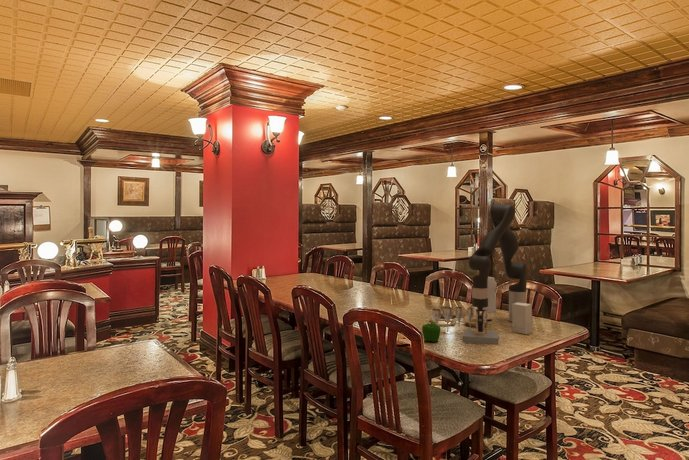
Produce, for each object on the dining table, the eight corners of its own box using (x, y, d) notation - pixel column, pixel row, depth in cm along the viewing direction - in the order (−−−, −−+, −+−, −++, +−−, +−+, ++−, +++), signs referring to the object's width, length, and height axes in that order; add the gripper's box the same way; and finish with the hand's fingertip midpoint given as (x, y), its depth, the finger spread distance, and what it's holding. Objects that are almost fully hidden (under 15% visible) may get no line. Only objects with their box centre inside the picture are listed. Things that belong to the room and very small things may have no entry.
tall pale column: (480, 312, 278) (480, 277, 277) (478, 311, 282) (478, 276, 281) (497, 312, 278) (497, 276, 277) (495, 311, 282) (495, 276, 281)
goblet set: (432, 334, 232) (432, 308, 232) (431, 331, 238) (431, 306, 237) (488, 335, 228) (488, 309, 228) (486, 332, 234) (486, 306, 234)
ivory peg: (476, 337, 224) (475, 317, 224) (484, 337, 223) (484, 317, 223) (476, 339, 221) (475, 319, 220) (484, 340, 219) (484, 319, 219)
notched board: (463, 335, 228) (463, 329, 228) (496, 337, 224) (496, 331, 223) (463, 342, 216) (463, 336, 216) (498, 344, 212) (498, 338, 212)
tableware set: (427, 326, 249) (427, 319, 249) (431, 314, 277) (431, 308, 277) (494, 330, 239) (494, 322, 239) (491, 317, 268) (491, 310, 267)
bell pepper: (419, 339, 222) (419, 319, 222) (434, 338, 225) (434, 318, 224) (427, 344, 214) (427, 323, 214) (443, 342, 216) (442, 321, 216)
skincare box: (533, 333, 231) (533, 304, 230) (525, 335, 227) (525, 305, 227) (518, 329, 238) (518, 301, 237) (511, 331, 234) (511, 303, 234)
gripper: (472, 293, 229) (472, 325, 230) (472, 299, 215) (472, 332, 216) (487, 294, 227) (487, 326, 227) (488, 299, 213) (488, 333, 214)
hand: (480, 329), depth 222 cm, fingers open, 8 cm apart
